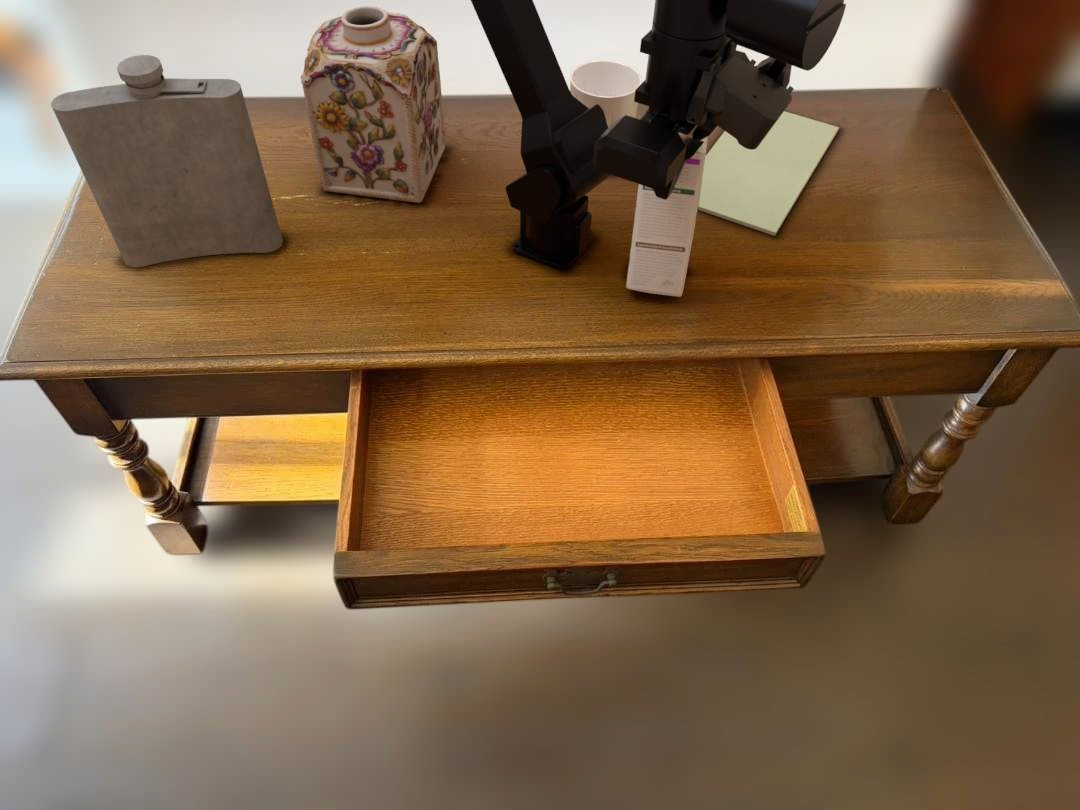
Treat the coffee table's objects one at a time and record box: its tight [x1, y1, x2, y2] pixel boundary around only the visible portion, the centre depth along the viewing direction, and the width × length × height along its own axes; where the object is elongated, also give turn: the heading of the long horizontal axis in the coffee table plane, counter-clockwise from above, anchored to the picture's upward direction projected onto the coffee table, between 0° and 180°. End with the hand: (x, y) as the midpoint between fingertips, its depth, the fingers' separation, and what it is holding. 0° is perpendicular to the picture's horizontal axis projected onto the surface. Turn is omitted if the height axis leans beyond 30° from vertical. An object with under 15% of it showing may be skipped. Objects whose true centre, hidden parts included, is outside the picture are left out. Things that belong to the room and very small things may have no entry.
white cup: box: [569, 59, 643, 128], centre depth 95 cm, size 8×8×10 cm
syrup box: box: [625, 136, 709, 298], centre depth 80 cm, size 6×6×14 cm
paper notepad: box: [698, 110, 840, 237], centre depth 98 cm, size 12×24×1 cm, turn 151°
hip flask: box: [50, 54, 284, 268], centre depth 79 cm, size 16×4×20 cm, turn 102°
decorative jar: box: [300, 5, 446, 204], centre depth 89 cm, size 12×12×18 cm
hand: (663, 196), depth 74 cm, fingers closed
